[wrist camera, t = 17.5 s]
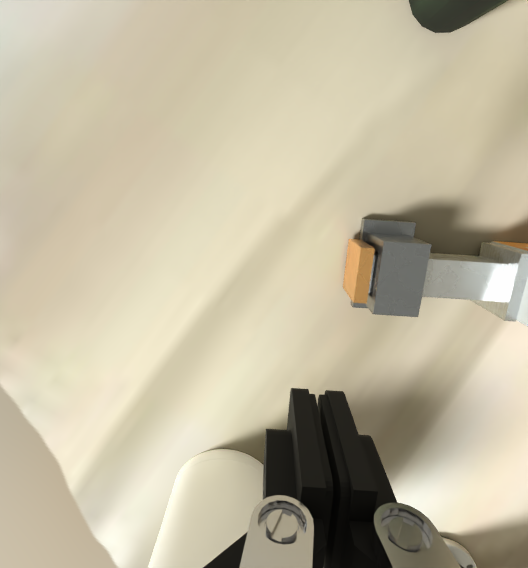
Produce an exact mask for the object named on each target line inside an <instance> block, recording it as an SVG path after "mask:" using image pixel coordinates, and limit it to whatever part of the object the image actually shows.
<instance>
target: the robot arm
mask: <svg viewBox="0 0 528 568" xmlns="http://www.w3.org/2000/svg"><path fill="white" fill-rule="evenodd" d="M203 568H477V567H476V565H475V562H474V560H473V559H472V557H471V555H470V553H469V552H468V551H467V550H466V549H465V548H464V547H463V546H461V545H460V544H459V543H457V542H455V541H452V540H450V539H446V538H443V537H441V535H440V534H439V532H438V531H437V529H436V527H435V526H434V525H433V524H432V522H431V521H430V520H429V519H428V518H427V517H426V516H425V515H424V514H422V513H421V512H420V511H418V510H416V509H415V508H413V507H411V506H408V505H405V504H402V503H397V501H396V498H395V496H394V493H393V490H392V488H391V485H390V483H389V480H388V478H387V475H386V473H385V470H384V468H383V465H382V463H381V460H380V457H379V455H378V452H377V450H376V447H375V445H374V442H373V440H372V438H371V437H370V436H369V435H358V432H357V429H356V426H355V423H354V420H353V417H352V414H351V411H350V409H349V406H348V403H347V400H346V397H345V394H344V392H343V391H327V390H326V391H325V395H319V398H318V406H317V403H316V398H315V394H309V390H308V389H296V388H291V392H290V403H289V413H288V424H287V430H276V429H266V437H265V451H264V468H263V500H262V501H260V502H259V503H258V504H257V505H256V507H255V508H254V510H253V513H252V515H251V520H250V524H249V528H248V532H247V533H245V534H244V535H243V536H242V537H240V538H239V539H238V540H237V541H235V542H234V543H233V544H232V545H230V546H229V547H228V548H227V549H225V550H224V551H223V552H222V553H220V554H219V555H218V556H217V557H216V558H214V559H213V560H212V561H211V562H209V563H208V564H207V565H206V566H204V567H203Z"/></svg>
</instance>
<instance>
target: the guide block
mask: <svg viewBox="0 0 528 568" xmlns="http://www.w3.org/2000/svg"><path fill="white" fill-rule="evenodd" d="M415 226H416V223H415V222H409V221H394V220H378V219H363V218H362V223H361V230H360V238H359V239H360V240H363V241H364V242H366V243H367V244H369V245H370V246H372V247H373V248H375V251H376V252H378V260H377V267H376V274H375V280H374V287H373V293H368V299H367V304H365V303H353V301H352V300H351V305H352V307H356V308H369V310H370V311H371V312H372V314H379V315H394V316H409V317H418V314H419V309H420V304H421V298H422V293H423V288H424V282H425V277H426V272H427V266H428V261H429V256H430V250H431V245H432V244H429V243H427V242H424V241H422V240H419V239H417V238H414V232H415Z"/></svg>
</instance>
